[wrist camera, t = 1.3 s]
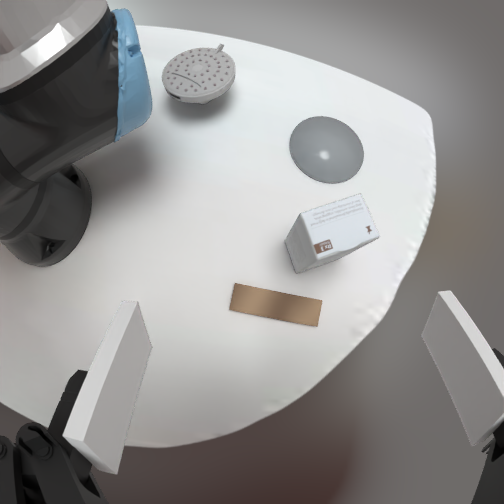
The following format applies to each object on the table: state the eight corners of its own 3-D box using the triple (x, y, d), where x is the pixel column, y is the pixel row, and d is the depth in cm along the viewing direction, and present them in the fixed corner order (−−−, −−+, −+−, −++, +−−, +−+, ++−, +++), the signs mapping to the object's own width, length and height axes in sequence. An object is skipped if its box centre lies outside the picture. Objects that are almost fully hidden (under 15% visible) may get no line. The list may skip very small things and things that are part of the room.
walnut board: (229, 309, 35) (229, 309, 34) (235, 283, 35) (234, 283, 35) (315, 326, 35) (317, 326, 34) (320, 300, 35) (322, 300, 34)
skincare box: (328, 225, 37) (363, 187, 25) (342, 260, 36) (384, 236, 24) (281, 241, 36) (297, 207, 24) (294, 277, 36) (318, 260, 24)
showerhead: (252, 54, 33) (202, 102, 32) (251, 89, 40) (208, 135, 39) (196, 33, 34) (145, 76, 33) (201, 66, 41) (158, 108, 40)
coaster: (284, 173, 38) (284, 171, 37) (295, 111, 40) (295, 109, 39) (359, 191, 38) (361, 189, 37) (363, 129, 40) (365, 127, 39)
